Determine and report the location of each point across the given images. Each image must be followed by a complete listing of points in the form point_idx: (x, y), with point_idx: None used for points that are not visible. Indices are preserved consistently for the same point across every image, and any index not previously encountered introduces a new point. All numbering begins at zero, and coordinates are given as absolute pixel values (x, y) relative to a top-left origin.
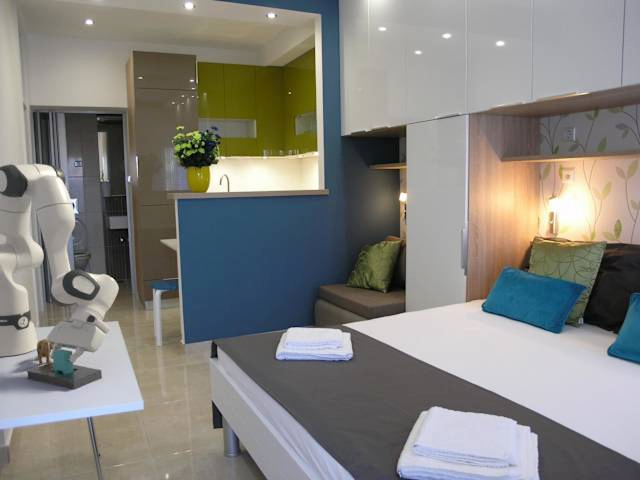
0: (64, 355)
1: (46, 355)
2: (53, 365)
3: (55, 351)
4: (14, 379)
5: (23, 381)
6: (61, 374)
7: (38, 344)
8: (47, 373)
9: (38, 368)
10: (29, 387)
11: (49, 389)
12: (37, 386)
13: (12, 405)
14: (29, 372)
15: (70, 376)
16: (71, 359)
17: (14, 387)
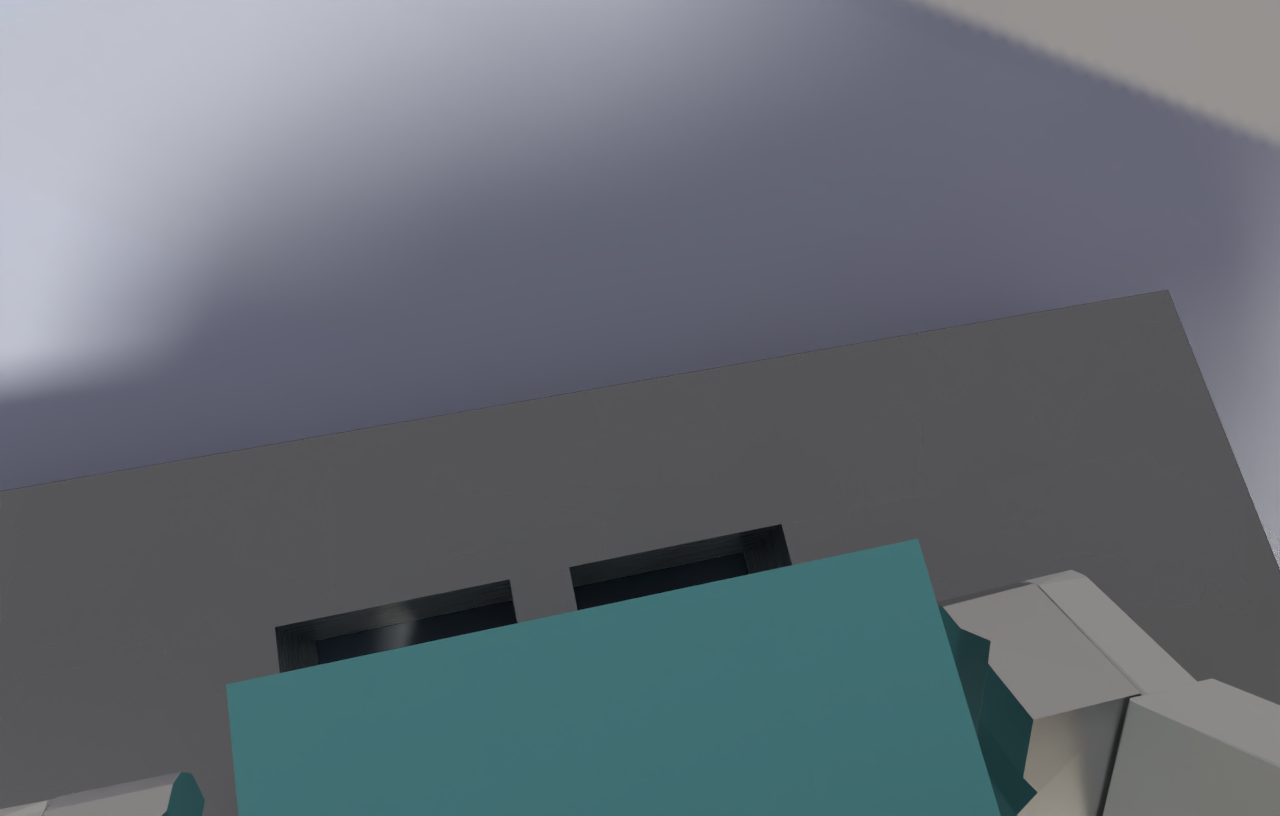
0: (250, 719)
1: None
2: None
3: (930, 656)
4: (1203, 219)
5: (1007, 253)
6: (370, 600)
7: None
8: (701, 445)
9: (1166, 482)
10: (652, 182)
11: (264, 313)
12: (588, 270)
13: None
14: (1101, 309)
15: (24, 661)
16: None
17: (840, 70)
